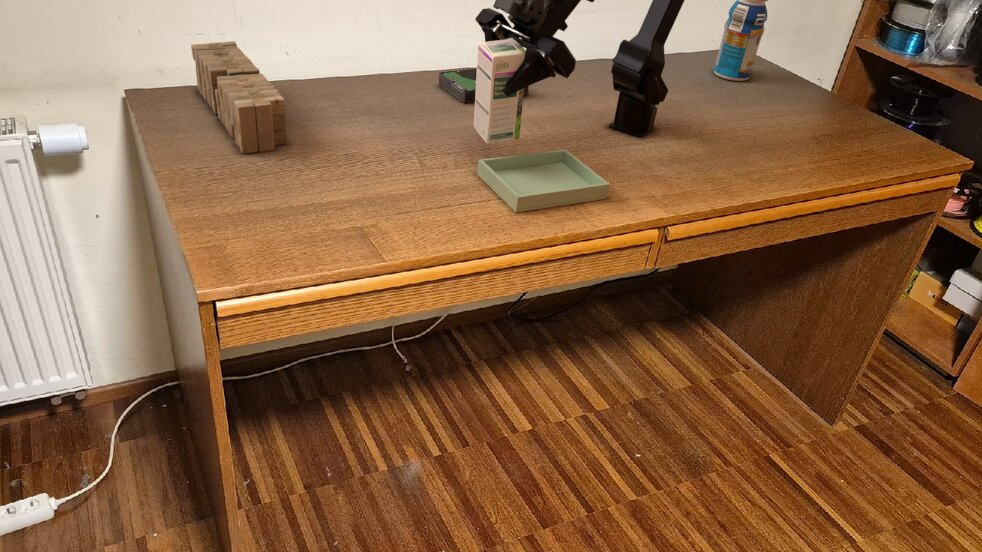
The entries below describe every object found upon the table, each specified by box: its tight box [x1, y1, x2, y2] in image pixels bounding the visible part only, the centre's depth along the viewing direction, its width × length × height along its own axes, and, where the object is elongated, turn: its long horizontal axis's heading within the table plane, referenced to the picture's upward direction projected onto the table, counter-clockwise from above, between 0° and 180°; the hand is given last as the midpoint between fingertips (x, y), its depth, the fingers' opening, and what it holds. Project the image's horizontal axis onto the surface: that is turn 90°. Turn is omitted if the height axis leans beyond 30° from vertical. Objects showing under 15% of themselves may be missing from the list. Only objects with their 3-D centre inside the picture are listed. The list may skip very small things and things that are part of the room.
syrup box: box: [473, 38, 526, 145], centre depth 124 cm, size 6×6×14 cm
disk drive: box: [438, 68, 530, 103], centre depth 156 cm, size 10×3×15 cm
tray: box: [476, 149, 611, 213], centre depth 124 cm, size 16×13×2 cm
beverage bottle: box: [713, 0, 769, 82], centre depth 174 cm, size 8×8×20 cm
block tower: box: [190, 40, 288, 154], centre depth 133 cm, size 8×8×29 cm
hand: (490, 86), depth 122 cm, fingers closed on syrup box, 7 cm apart
